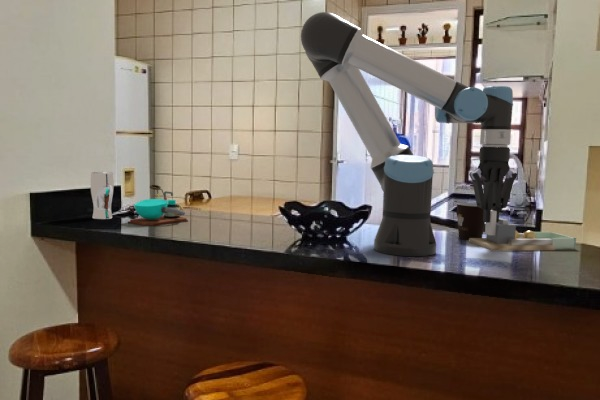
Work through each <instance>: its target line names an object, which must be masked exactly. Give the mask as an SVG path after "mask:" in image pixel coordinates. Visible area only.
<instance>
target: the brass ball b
mask: <svg viewBox="0 0 600 400" xmlns="http://www.w3.org/2000/svg"><path fill="white" fill-rule="evenodd" d="M534 232H535V231H534V230H533V231H532V230H526V231H524V232H523V233H524V235H523V238H524V239H536V234H535V233H534Z"/></svg>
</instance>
